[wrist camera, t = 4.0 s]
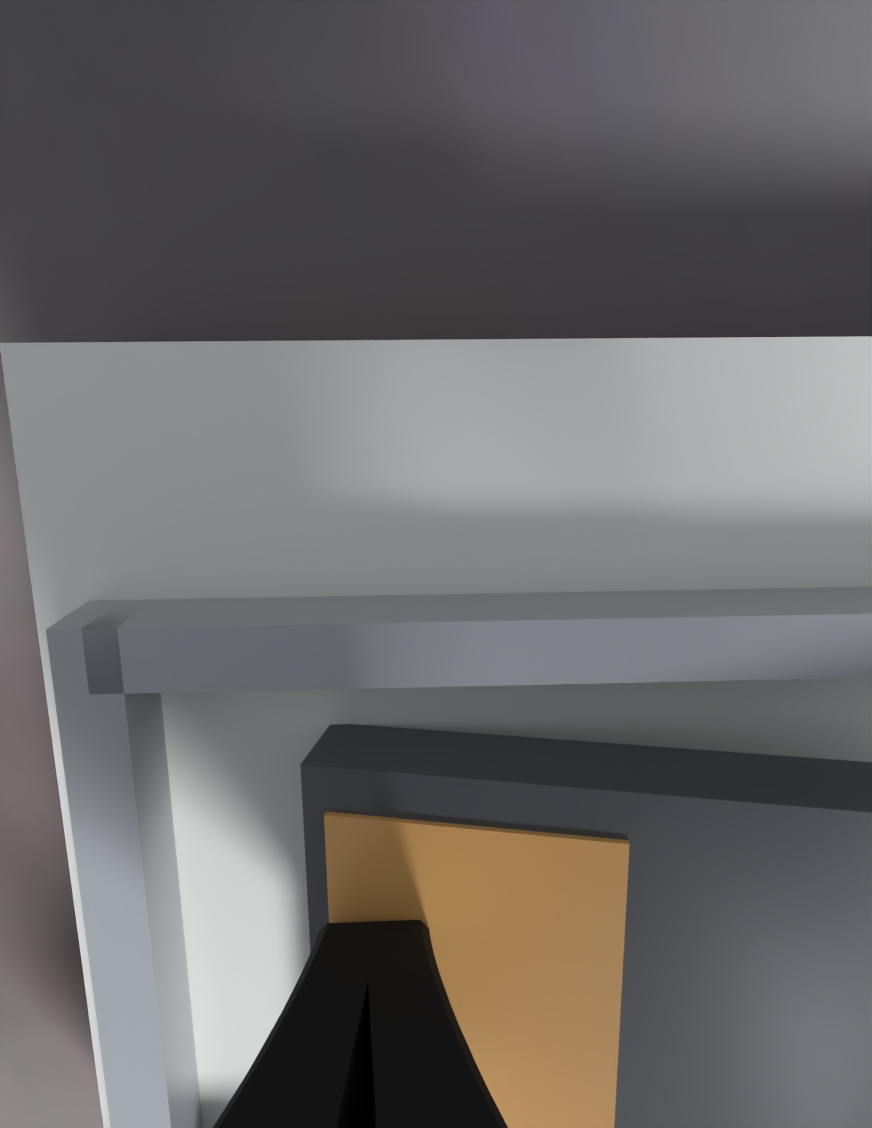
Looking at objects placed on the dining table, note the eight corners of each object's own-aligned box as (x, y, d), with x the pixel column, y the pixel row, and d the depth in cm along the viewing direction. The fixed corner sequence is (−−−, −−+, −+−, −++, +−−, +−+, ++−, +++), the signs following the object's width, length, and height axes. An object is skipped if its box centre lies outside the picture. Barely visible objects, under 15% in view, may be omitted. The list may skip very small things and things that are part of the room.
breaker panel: (948, 1132, 16) (1255, 1555, 10) (184, 1163, 16) (49, 1627, 10) (1088, 345, 13) (1681, 309, 7) (98, 353, 12) (-195, 321, 6)
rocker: (999, 1189, 10) (1057, 1299, 9) (347, 1084, 12) (319, 1165, 11) (1081, 777, 9) (1163, 841, 8) (330, 722, 10) (297, 767, 9)
